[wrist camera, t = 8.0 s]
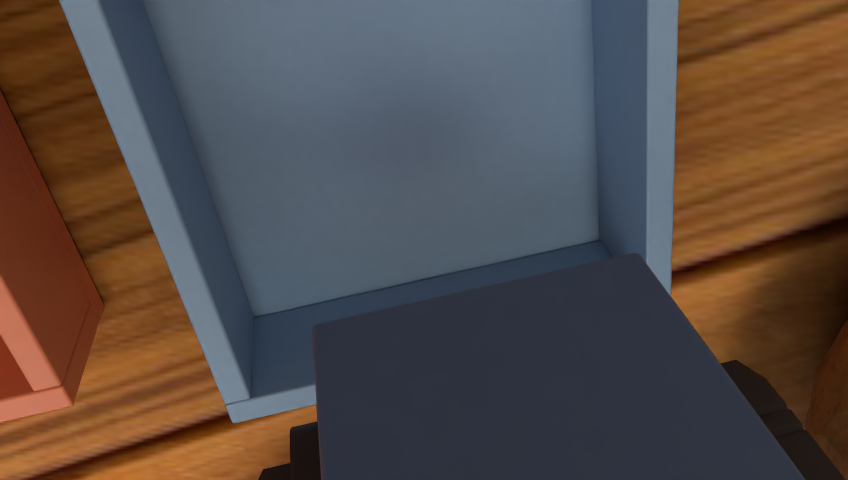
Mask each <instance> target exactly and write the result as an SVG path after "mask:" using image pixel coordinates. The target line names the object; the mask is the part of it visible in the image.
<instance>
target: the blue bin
mask: <svg viewBox="0 0 848 480" xmlns="http://www.w3.org/2000/svg"><path fill="white" fill-rule="evenodd" d="M59 1H60V4H61V6H62V9H63V11H64V14H65V16H66V18H67V21H68V23H69V26H70V28H71V31H72V33H73V36H74V38H75V40H76V43H77V45H78V48H79V50H80V53H81V55H82V57H83V60H84V62H85V65H86V67H87V70H88V72H89V75H90V77H91V79H92V82H93V84H94V87H95V89H96V92H97V94H98V96H99V99H100V101H101V104H102V106H103V109H104V111H105V114H106V116H107V118H108V121H109V123H110V126H111V128H112V131H113V133H114V135H115V138H116V140H117V143H118V145H119V148H120V150H121V153H122V155H123V157H124V160H125V162H126V165H127V167H128V170H129V172H130V174H131V177H132V179H133V182H134V184H135V187H136V189H137V192H138V194H139V196H140V199H141V201H142V204H143V206H144V209H145V211H146V213H147V216H148V218H149V221H150V223H151V226H152V228H153V231H154V233H155V235H156V238H157V240H158V243H159V245H160V248H161V250H162V252H163V255H164V257H165V260H166V262H167V265H168V267H169V270H170V272H171V274H172V277H173V279H174V282H175V284H176V287H177V289H178V291H179V294H180V296H181V299H182V301H183V304H184V306H185V309H186V311H187V313H188V316H189V318H190V321H191V323H192V326H193V328H194V330H195V333H196V335H197V338H198V340H199V343H200V345H201V348H202V350H203V352H204V355H205V357H206V360H207V362H208V365H209V367H210V369H211V372H212V374H213V377H214V379H215V382H216V384H217V387H218V389H219V391H220V394H221V396H222V399H223V401H224V403H225V406H226V409H227V411H228V414H229V416H230V418H231V421H232V422H233V423H238V422H242V421H246V420H251V419H255V418H259V417H264V416H268V415H272V414H277V413H281V412H285V411H289V410H294V409H298V408H302V407H307V406H311V405H315V404H316V389H315V374H314V358H313V342H312V329H313V326H314V325H316V324H319V323H323V322H328V321H332V320H337V319H341V318H346V317H350V316H354V315H359V314H363V313H368V312H372V311H377V310H381V309H386V308H390V307H395V306H399V305H403V304H408V303H412V302H417V301H421V300H426V299H430V298H435V297H439V296H444V295H448V294H452V293H457V292H461V291H466V290H470V289H475V288H479V287H484V286H488V285H493V284H497V283H501V282H506V281H510V280H515V279H519V278H524V277H528V276H533V275H537V274H542V273H546V272H550V271H555V270H559V269H564V268H568V267H573V266H577V265H582V264H586V263H591V262H595V261H599V260H604V259H608V258H613V257H617V256H622V255H626V254H631V253H638V254H640V255H641V257H642V258H643V259H644V261H645V262H646V264H647V265H648V266H649V268H650V269H651V270H652V272H653V273H654V274H655V276H656V277H657V278H658V280H659V281H660V283H661V284H662V285H663V287H664V288H665V289H666V291H667V292H668V293H669V295H670V296H671V271H672V233H673V195H674V157H675V119H676V82H677V44H678V6H679V0H59Z"/></svg>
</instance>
